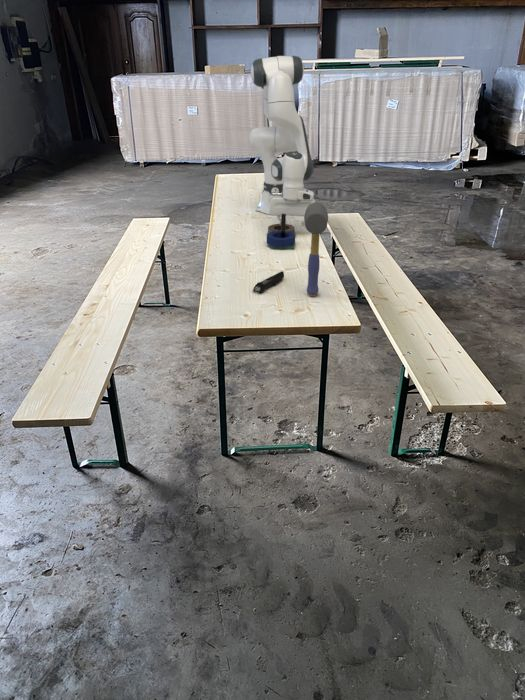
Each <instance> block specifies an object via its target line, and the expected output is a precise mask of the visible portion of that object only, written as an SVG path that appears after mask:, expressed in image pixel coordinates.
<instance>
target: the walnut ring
mask: <svg viewBox="0 0 525 700" xmlns="http://www.w3.org/2000/svg"><path fill="white" fill-rule="evenodd" d="M273 231H281V226H280V223H273V224H270V225H268V227H267V234H268V233H270V232H273ZM285 231H288V232H292V233H294V234H295V233H296V227H295V226H294V225H292V224H288V223H286V230H285ZM295 235H296V234H295Z"/></svg>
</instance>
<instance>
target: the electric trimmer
mask: <svg viewBox="0 0 525 700" xmlns="http://www.w3.org/2000/svg"><path fill="white" fill-rule="evenodd" d="M284 278H285V272H284V271H279V272H277V273H275V274H273V275H271V276H269V277H268V278H265V279H263V280H262V281H257V283H256V284H255V285H254V286H253V288H252V291H253V292H254V293H256V294H263V293H264V291H265V290H266V289H268V288H270V287H271V286H275V285H277V284H279V283H280V282H281V281H282V280H283V279H284Z"/></svg>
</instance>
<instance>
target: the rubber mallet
mask: <svg viewBox="0 0 525 700" xmlns="http://www.w3.org/2000/svg"><path fill="white" fill-rule="evenodd" d="M303 221H304V222H305V226H304V228H305V229H306V230H307V232H308V233H310V234H311V237H310V238H311V241H310V253H309V256H308V261H307V275H308V276H307V278H308V279H307V287H306V294H307V295H308V296H309V297H317V295H318V293H319V273H320V251H319V250H320V234H322V233H323V232H325V231H326V229H327V227H328V223H329V213H328V210H327V208H326V206H325V205H324V204H323V203H321V202H316V201H315V203H312V204H310V205H309V206H308V207H307V209H306V211H305V215H304V216H303Z"/></svg>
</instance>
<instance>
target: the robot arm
mask: <svg viewBox="0 0 525 700" xmlns="http://www.w3.org/2000/svg"><path fill="white" fill-rule="evenodd" d="M304 73H305V66H304V63H303V60H302V58H301V57H300V56H298V55H291V56H290V55H277V56H270V57H265V58H261V57H260V58H257V59H254V60H253V61H252V64H251V68H250V78H251V80H252V83H253V85H255V86H256V87H259V88H261V89H262V101H263V103H262V105H263V114H264V117H265V118H266V119H267V120H269V121H270V122H272V123H273V124H274V125H275V126H261V127H255V128H253V129H252V130H251V131H250V133H249V135H248V144H249V147H250V148H251V149H252V150H253V151H254V152H255V153H256V154H257V155H258V157H259V158H260V159H261V163H262V165H263V174H264V181H263V184H262V185H263V186H262V187H263V190H262V192H261V193H260V202H259V204H258V207H257V208H256V211H257V212H261V213H263V214H267V215H270V216H276V218H277V220H278V222H279V224H280V226H281V214H286V217H287V216H288V217H304V215H305V211H306V209H307V207H308V206H309V205H310V204H312V203H315V202H316V199H315V198H314V197H315V193H314V191H312V190H310V189H307V188H305V185H304V181H308V180H310V178H311V177H312V175H313V173H314V171H315V170H314V169H315V168H314V163H313V159H312V156H311V152H310V147H309V141H308V136H307V131H306V125H305V122H304V119H303V117H302V116H301V115H299V113H298V110H297V108H296V103H295V101H296V100H295V90H294V85H296V84H299V83H300V82H302V80H303V77H304ZM276 153H284V156H282V157H279V158H278V157H277V155H276ZM300 224H301V225H300V226H301V227H305V222H304V220H303V221H301V223H300Z"/></svg>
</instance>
